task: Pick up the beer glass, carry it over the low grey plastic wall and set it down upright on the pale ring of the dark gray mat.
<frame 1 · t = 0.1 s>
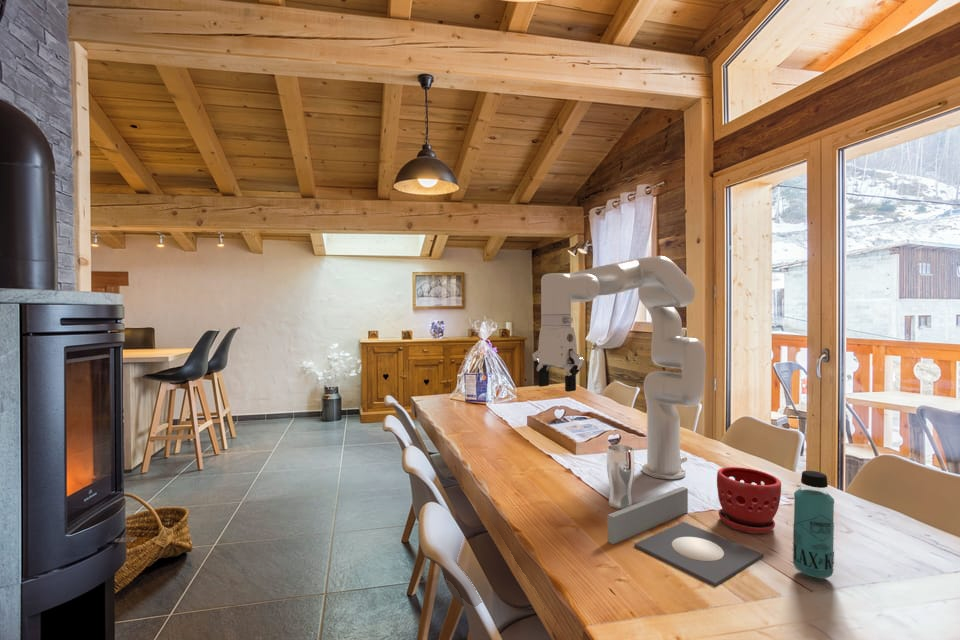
hand: (556, 388, 121), 31 cm above the table, tool pointing down, fingers open, 9 cm apart
dark gray mat: (697, 551, 100), on the table
plant pot: (748, 525, 112), on the table
low wall: (650, 525, 112), on the table
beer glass: (620, 505, 124), on the table
beverage bottle: (813, 577, 90), on the table
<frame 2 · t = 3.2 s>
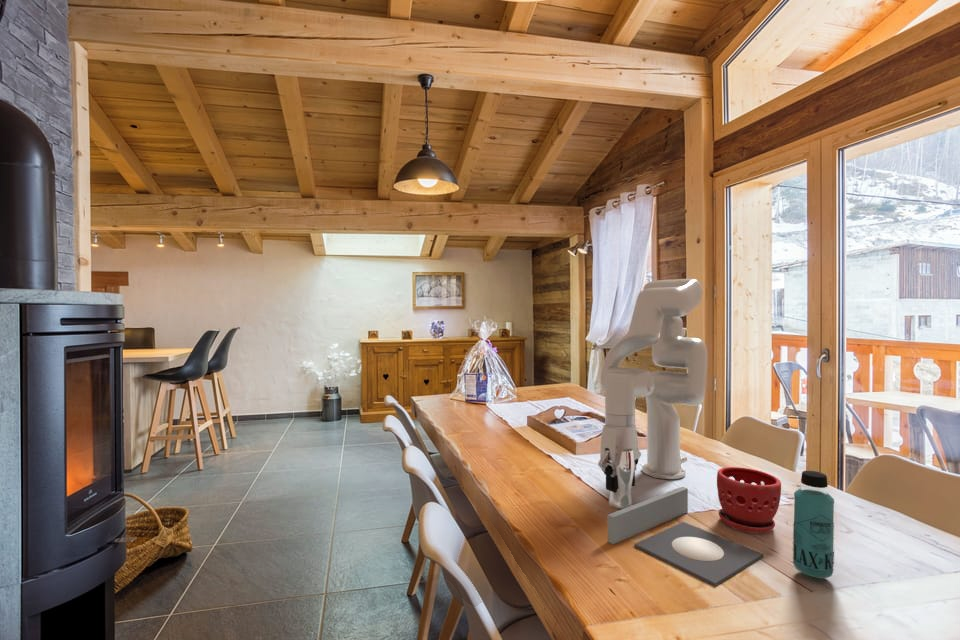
hand: (620, 487, 124), 5 cm above the table, tool pointing down, fingers closed on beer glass, 6 cm apart
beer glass: (620, 505, 124), on the table, touching gripper
everything else where it was.
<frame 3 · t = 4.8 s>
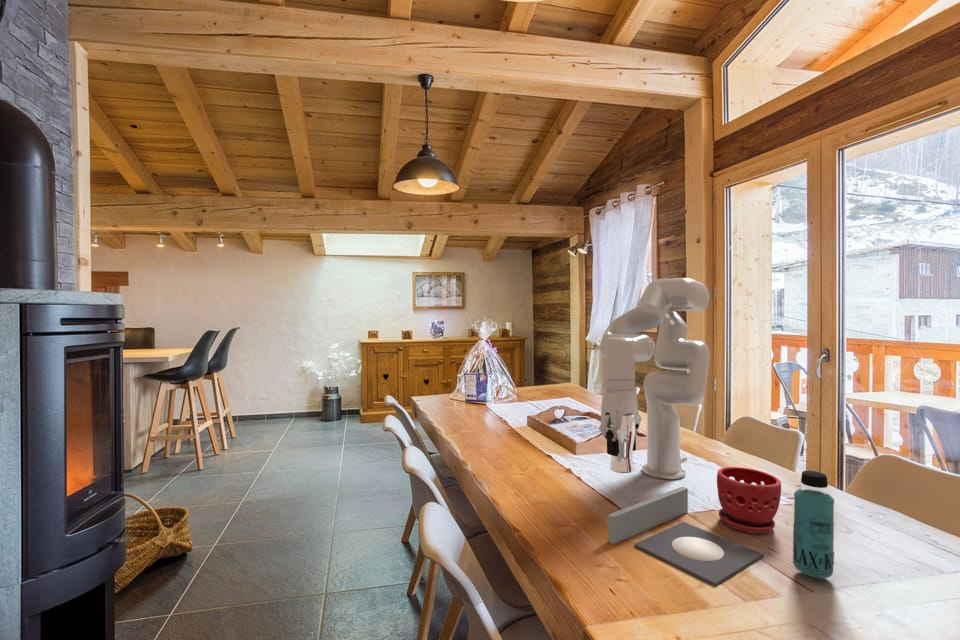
hand: (621, 451, 124), 14 cm above the table, tool pointing down, fingers closed on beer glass, 6 cm apart
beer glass: (621, 469, 124), point 9 cm above the table, touching gripper
everything else where it was.
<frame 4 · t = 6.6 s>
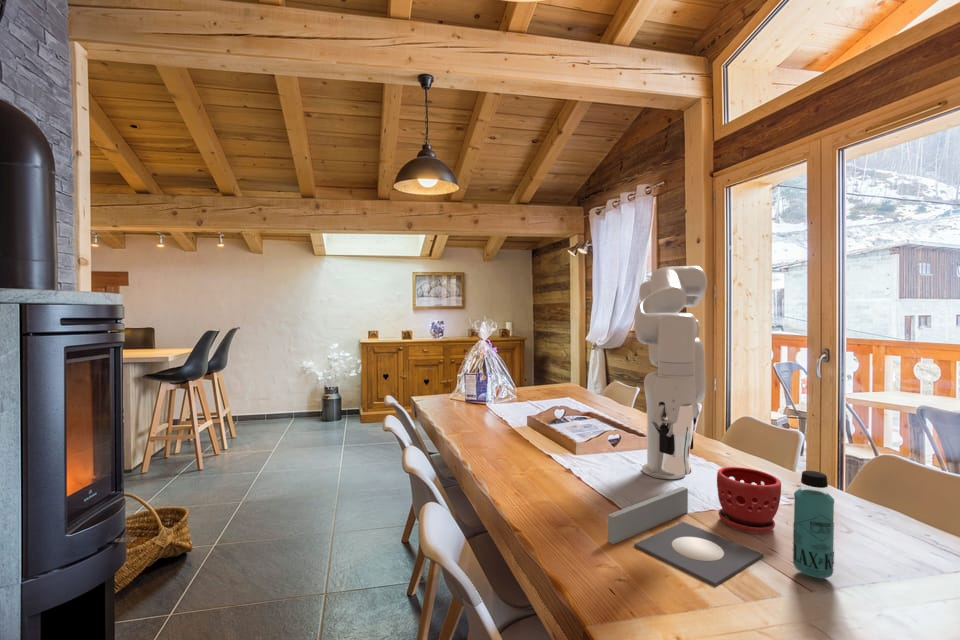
hand: (676, 449, 105), 20 cm above the table, tool pointing down, fingers closed on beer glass, 6 cm apart
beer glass: (676, 471, 105), point 15 cm above the table, touching gripper
everything else where it was.
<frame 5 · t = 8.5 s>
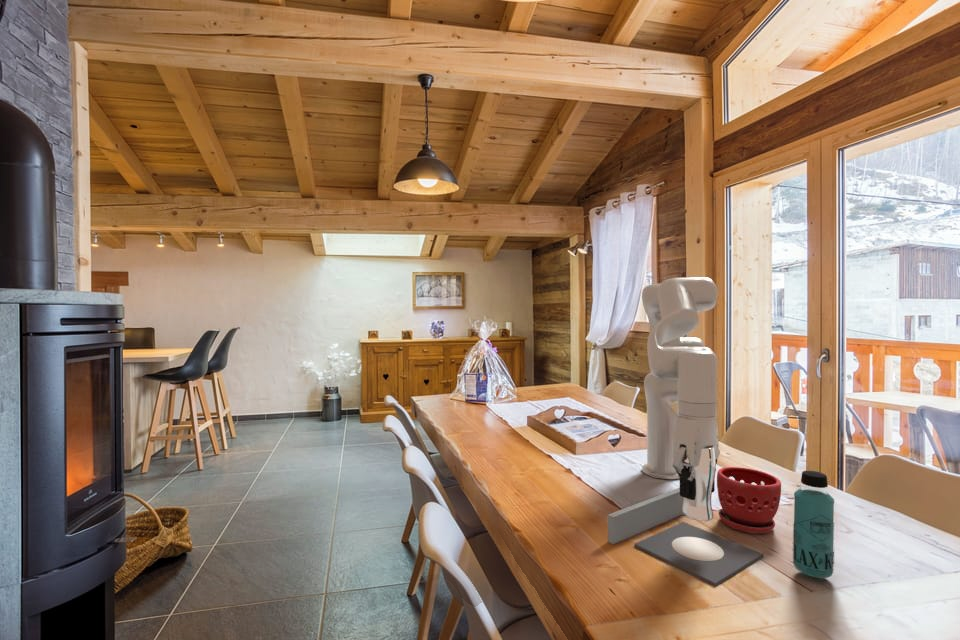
hand: (697, 493, 99), 12 cm above the table, tool pointing down, fingers closed on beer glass, 6 cm apart
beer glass: (697, 515, 100), point 8 cm above the table, touching gripper
everything else where it was.
when the fingers open (6 cm above the table, at t = 10.1 s): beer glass drops 1 cm, resting on dark gray mat.
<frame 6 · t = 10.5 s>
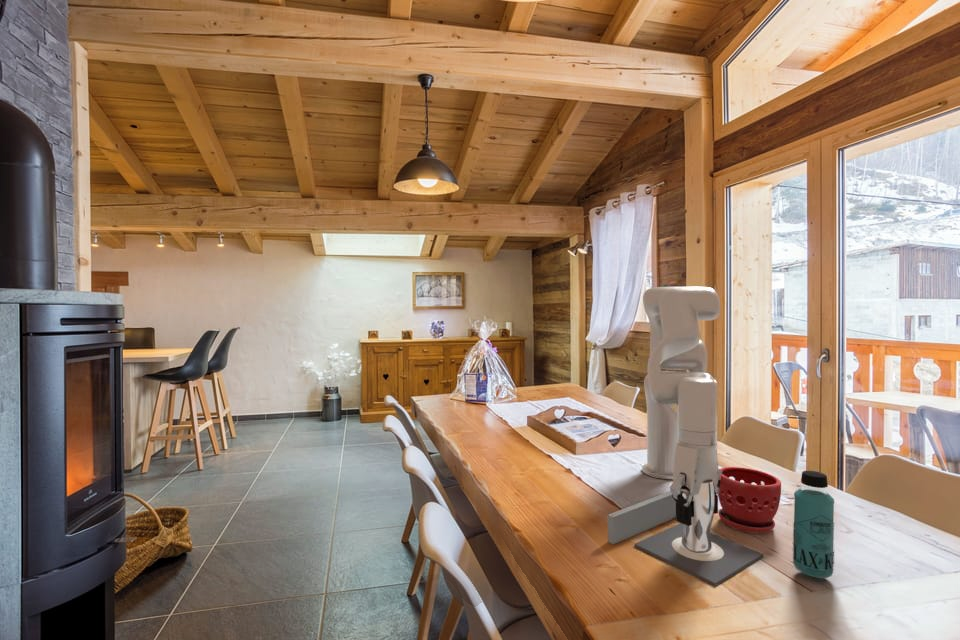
hand: (697, 517, 100), 7 cm above the table, tool pointing down, fingers open, 9 cm apart
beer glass: (696, 548, 100), point 1 cm above the table, touching dark gray mat
everything else where it was.
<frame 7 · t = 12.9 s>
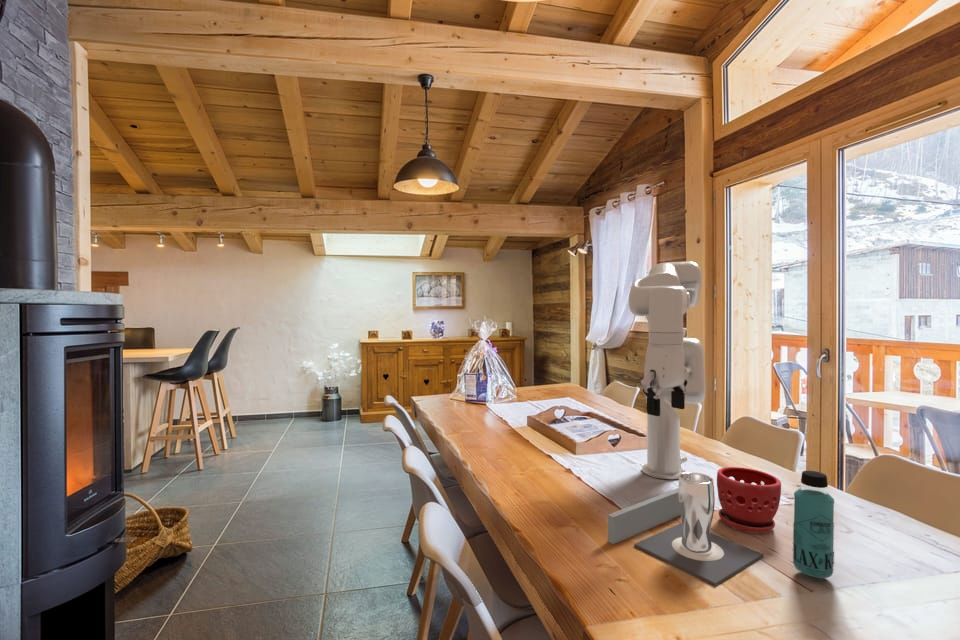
hand: (665, 411, 112), 27 cm above the table, tool pointing down, fingers open, 9 cm apart
nothing on the table moved.
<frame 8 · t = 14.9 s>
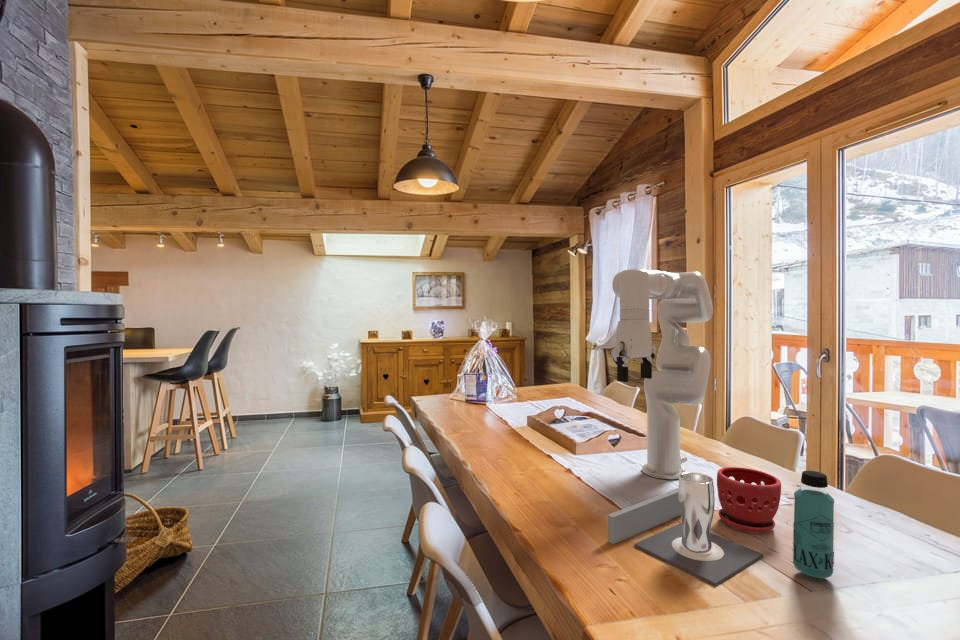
hand: (634, 379, 127), 32 cm above the table, tool pointing down, fingers open, 9 cm apart
nothing on the table moved.
at the end: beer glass inside the target area on the dark gray mat (0.1 cm from its centre), point 0.5 cm above the dark gray mat's base; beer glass tilted 0°; the gripper is holding nothing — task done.
